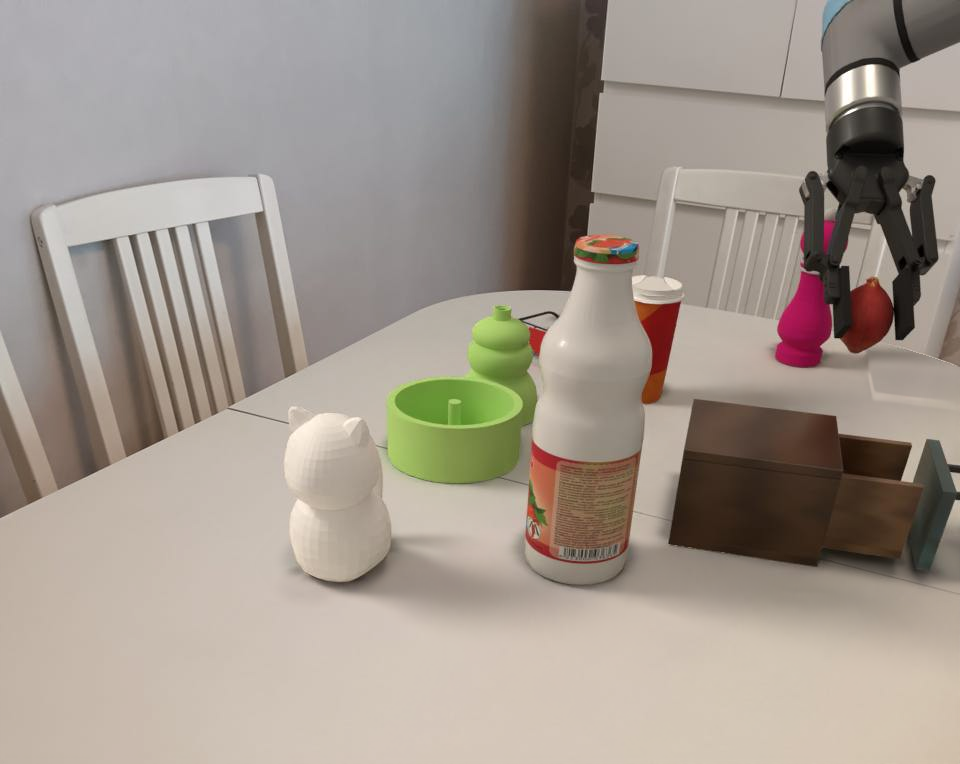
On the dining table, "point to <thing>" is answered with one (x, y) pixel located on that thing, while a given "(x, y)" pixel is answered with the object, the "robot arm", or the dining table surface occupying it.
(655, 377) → the paper cup
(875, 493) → the wooden drawer
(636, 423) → the fruit juice
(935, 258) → the robot arm
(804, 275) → the pepper mill
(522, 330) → the green round pieces
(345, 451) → the cat figurine
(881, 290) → the onion
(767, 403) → the dining table surface
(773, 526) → the drawer cabinet
